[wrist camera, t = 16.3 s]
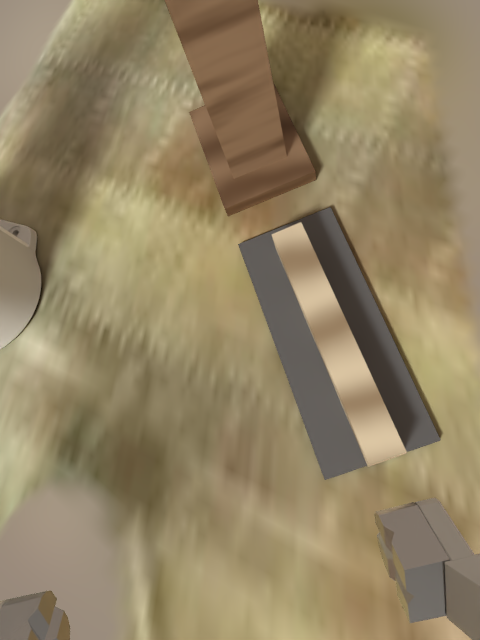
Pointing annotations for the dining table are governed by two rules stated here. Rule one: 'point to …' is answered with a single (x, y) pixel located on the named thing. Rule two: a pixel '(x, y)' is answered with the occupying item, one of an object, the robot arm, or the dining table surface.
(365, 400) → the bar
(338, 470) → the mat
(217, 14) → the stand
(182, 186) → the dining table surface
